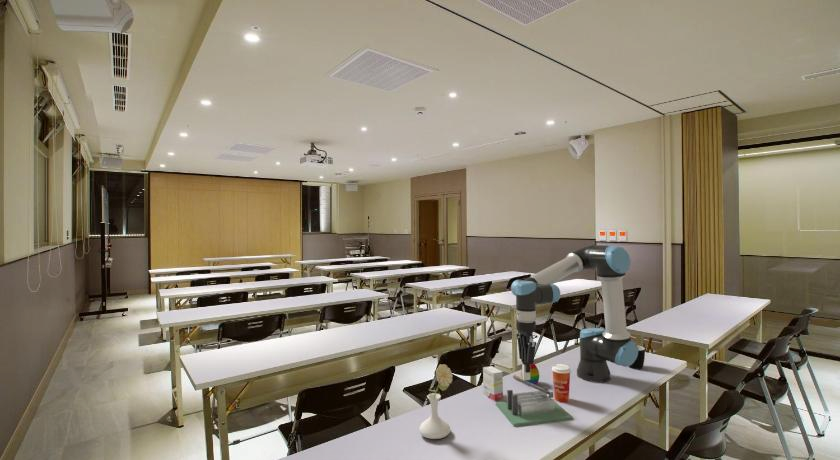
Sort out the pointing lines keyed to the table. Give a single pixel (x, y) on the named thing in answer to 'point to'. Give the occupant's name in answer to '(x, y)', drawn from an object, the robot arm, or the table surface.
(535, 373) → the decorative egg
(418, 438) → the table surface
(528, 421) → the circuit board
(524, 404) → the block
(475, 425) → the table surface
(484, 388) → the ink box
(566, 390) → the paper cup
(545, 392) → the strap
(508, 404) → the lug posts
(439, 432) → the flower in vase
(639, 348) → the mug
